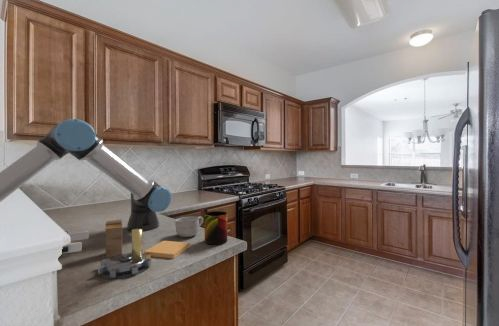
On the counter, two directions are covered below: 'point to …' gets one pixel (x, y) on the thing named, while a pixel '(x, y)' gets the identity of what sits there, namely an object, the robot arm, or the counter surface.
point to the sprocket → (127, 259)
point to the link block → (113, 237)
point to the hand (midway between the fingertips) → (85, 240)
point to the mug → (216, 228)
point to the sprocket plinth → (124, 274)
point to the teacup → (188, 226)
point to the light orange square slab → (168, 249)
